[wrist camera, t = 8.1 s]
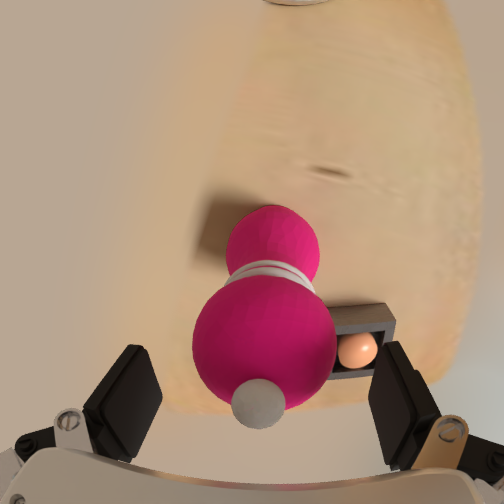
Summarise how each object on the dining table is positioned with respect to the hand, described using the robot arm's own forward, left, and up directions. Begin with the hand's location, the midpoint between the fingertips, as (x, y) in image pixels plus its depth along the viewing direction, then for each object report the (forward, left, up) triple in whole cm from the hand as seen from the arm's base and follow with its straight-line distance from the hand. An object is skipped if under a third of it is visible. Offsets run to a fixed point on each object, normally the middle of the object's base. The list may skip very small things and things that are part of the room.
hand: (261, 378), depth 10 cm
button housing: (+10, +8, -17) cm, 22 cm away
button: (+10, +8, -16) cm, 21 cm away
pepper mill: (-1, 0, -18) cm, 17 cm away
